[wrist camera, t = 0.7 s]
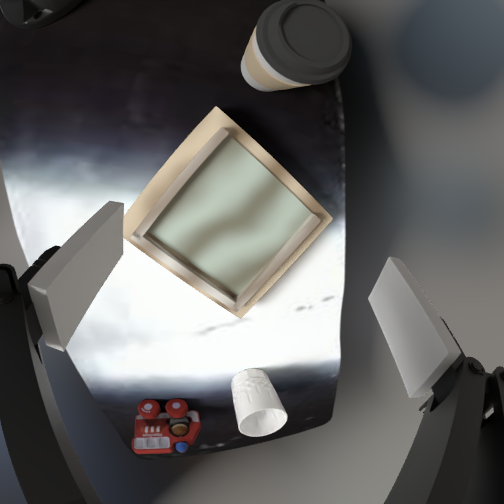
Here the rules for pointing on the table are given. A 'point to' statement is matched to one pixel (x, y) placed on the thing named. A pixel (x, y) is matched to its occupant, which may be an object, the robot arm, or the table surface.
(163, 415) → the toy fire truck
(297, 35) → the coffee cup
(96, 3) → the table surface
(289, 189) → the tray
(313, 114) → the table surface
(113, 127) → the table surface
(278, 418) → the white cup
